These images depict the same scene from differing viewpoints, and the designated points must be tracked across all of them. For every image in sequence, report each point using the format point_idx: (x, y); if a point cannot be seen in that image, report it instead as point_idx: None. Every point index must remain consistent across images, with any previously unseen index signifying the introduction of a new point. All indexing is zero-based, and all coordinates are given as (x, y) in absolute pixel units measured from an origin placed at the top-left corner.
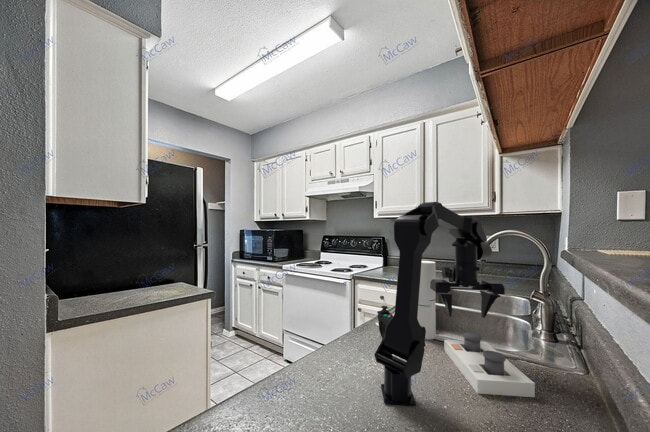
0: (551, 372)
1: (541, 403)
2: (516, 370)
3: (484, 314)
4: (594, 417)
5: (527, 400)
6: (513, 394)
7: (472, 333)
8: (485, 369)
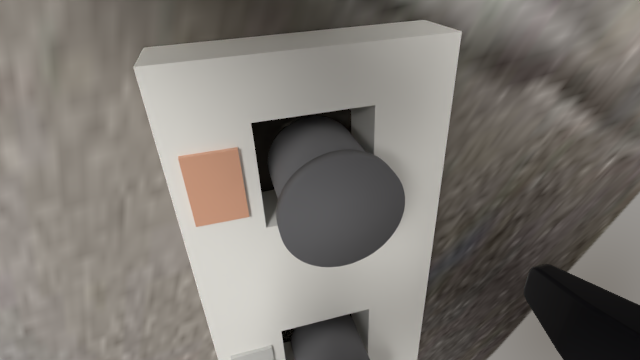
0: (570, 171)
1: None
2: (411, 322)
3: (554, 337)
4: (474, 355)
5: None
6: None
7: (365, 173)
8: (294, 356)
